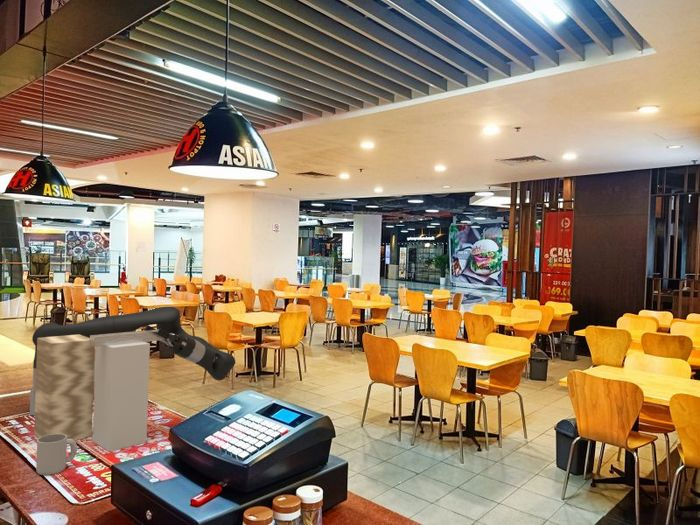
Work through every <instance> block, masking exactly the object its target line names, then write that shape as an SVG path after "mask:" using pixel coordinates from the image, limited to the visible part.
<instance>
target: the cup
mask: <svg viewBox="0 0 700 525" xmlns="http://www.w3.org/2000/svg"><path fill="white" fill-rule="evenodd" d="M68 445H69V446H70V453H69V455H68V456H67V450H68V448H67V447H68ZM77 451H78V445H77V442H76V440H73V439H67V436H66V435H64V434H50V435H45V436H42V437H40V438H37V439H36V459H35V460H36V463H35V470H36V473H37V474H38V475H41V476H51V475H56V474H59V473H62V472H63V471H65V469H66V466H67V463H69V462H71V461H73V460H74V458H75V457H76V455H77Z"/></svg>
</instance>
